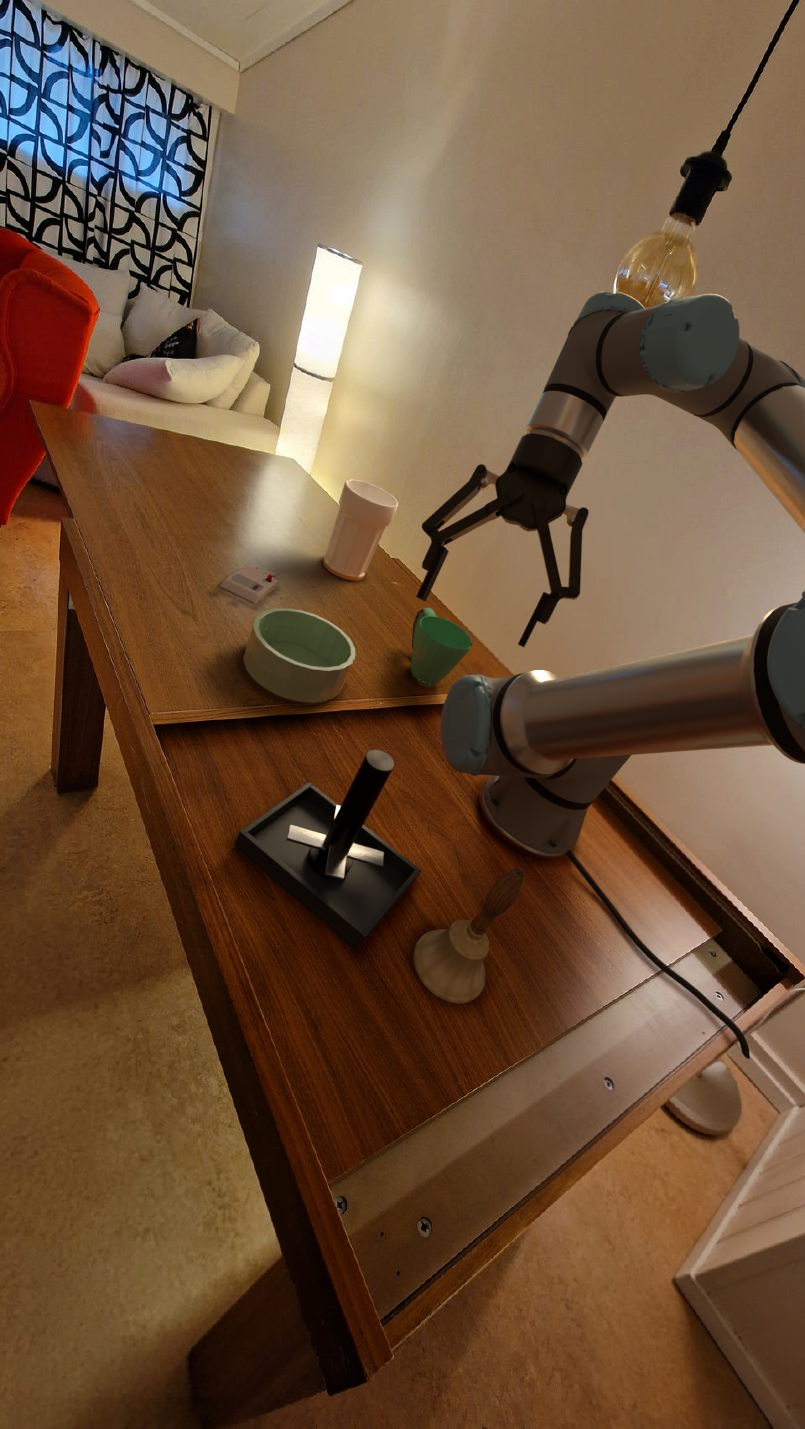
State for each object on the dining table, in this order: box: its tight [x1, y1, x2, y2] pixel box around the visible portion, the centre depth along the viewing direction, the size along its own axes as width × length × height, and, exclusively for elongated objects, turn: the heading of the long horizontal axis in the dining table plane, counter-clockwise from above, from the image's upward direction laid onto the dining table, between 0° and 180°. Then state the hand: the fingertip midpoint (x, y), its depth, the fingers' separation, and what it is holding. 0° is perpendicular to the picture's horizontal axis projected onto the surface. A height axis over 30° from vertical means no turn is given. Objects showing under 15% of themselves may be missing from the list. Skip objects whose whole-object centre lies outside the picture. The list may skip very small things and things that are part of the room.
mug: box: [410, 607, 473, 688], centre depth 110 cm, size 15×10×10 cm
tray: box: [233, 781, 422, 952], centre depth 69 cm, size 17×12×3 cm
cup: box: [322, 478, 399, 582], centre depth 128 cm, size 11×11×17 cm
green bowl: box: [242, 607, 356, 704], centre depth 94 cm, size 16×16×7 cm
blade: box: [286, 749, 395, 880], centre depth 65 cm, size 11×10×16 cm
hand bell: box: [413, 867, 526, 1005], centre depth 62 cm, size 8×8×16 cm
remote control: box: [219, 564, 280, 605], centre depth 111 cm, size 7×16×3 cm, turn 166°
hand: (470, 622), depth 73 cm, fingers open, 12 cm apart
